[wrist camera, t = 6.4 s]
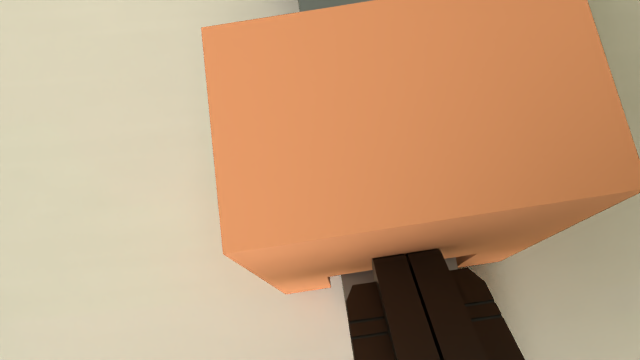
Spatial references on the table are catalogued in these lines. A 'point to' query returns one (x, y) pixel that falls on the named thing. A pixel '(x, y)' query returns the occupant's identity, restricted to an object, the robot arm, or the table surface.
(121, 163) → the table surface
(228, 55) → the sleeve
